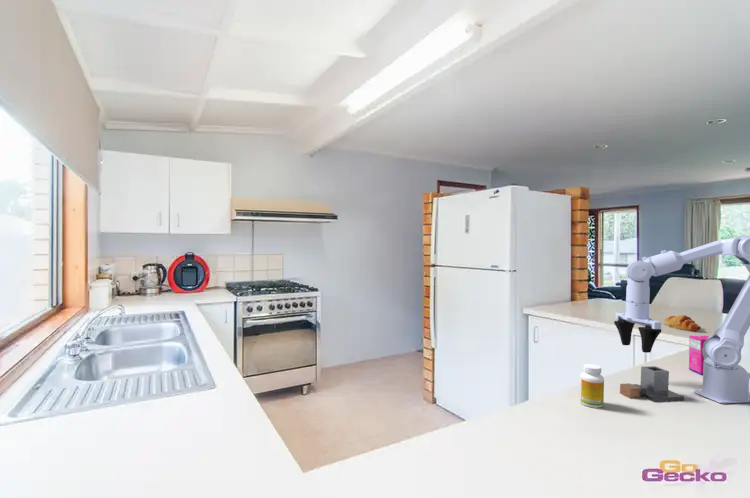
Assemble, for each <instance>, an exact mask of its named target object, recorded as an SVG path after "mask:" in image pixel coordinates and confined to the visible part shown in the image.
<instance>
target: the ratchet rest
mask: <svg viewBox="0 0 750 498" xmlns="http://www.w3.org/2000/svg"><path fill="white" fill-rule="evenodd" d="M640 385H641V384H638V383H636V384H635V383H633V384H632V383H619V394H621V395H622V396H624V397H626V398H627V399H640V398H645V399H647V400H649V401H651V402H653V403H656V402H659V403H660V402H674V401H675V402H677V401H679V402H680V401H684V400H685V396H684V395H681V394H679V393H677V392H675V391H672V390H669V389H668V394H652V393H650V392H648V391H646V390H647V388H645V387H642V386H640Z"/></svg>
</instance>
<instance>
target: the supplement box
mask: <svg viewBox="0 0 750 498" xmlns="http://www.w3.org/2000/svg"><path fill="white" fill-rule="evenodd" d="M710 337H711V336H709V335H689V338H688V339H689V340H688V341H689V345H688V347H689V348H688V349H689V350H688V370H689V371H692V372H694V373H696V374H698V375H700V376H703V364H704V359H706V357H707V356H708V355H707V354H706V353H705V351H704V349H703V344H704V342H705V341H706V340H707V339H708V338H710Z"/></svg>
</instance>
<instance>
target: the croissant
mask: <svg viewBox="0 0 750 498" xmlns="http://www.w3.org/2000/svg"><path fill="white" fill-rule="evenodd" d="M664 323H665V325H666V326H668V327H669V328H674V329H677V330H684V331H687V332H688V331H689V332H696V331H699V330H701V328H702V327H701V325H699V324H697V323H696V322H695V320H693V319H692V318H691V317H690V316H687V315H683V314H682V315H681V314H679V315H670V316H668V317H666V318H665V319H664Z"/></svg>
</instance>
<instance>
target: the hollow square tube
mask: <svg viewBox="0 0 750 498" xmlns="http://www.w3.org/2000/svg"><path fill="white" fill-rule="evenodd" d="M669 379H670V371H669V370H667V369H664V368H661V367H658V366H656V365H655V366H654V365H652V366H651V365H650V366H649V365H647V366H641V367H640V384H639V385H640V386H642V387H645V388H647V390H646V391H648V392H650V393H652V394H668V390H669Z"/></svg>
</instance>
